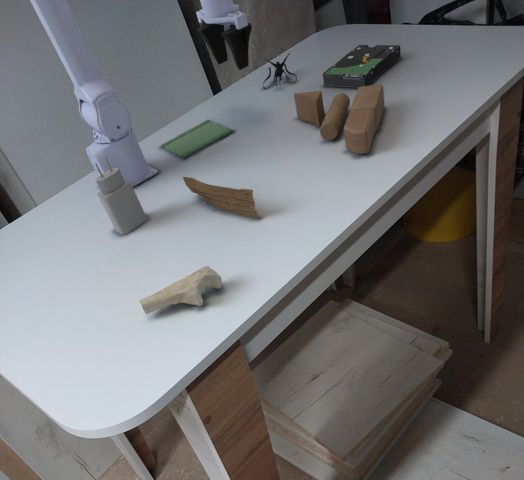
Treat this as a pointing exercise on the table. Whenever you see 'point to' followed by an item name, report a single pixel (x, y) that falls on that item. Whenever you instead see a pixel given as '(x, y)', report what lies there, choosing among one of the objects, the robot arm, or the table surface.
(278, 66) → the creature
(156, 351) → the table surface
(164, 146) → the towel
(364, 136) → the wooden block set
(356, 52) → the disk drive
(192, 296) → the bone fragment
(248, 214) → the wood plank
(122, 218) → the power adapter
